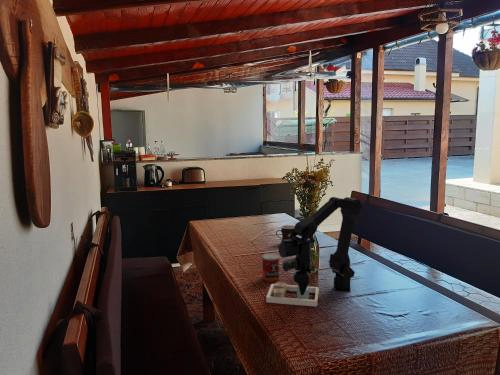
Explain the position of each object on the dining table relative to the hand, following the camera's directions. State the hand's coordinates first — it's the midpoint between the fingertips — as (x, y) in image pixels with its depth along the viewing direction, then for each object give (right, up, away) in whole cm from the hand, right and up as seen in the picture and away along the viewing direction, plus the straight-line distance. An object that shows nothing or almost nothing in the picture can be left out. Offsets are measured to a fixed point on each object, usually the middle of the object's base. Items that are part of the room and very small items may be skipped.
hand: (303, 290), depth 168 cm
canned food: (-12, 0, +21) cm, 24 cm away
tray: (-4, -3, +1) cm, 5 cm away
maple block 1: (-9, -3, +5) cm, 10 cm away
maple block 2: (-10, -4, -1) cm, 11 cm away
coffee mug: (0, +9, +77) cm, 78 cm away
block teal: (0, -3, +1) cm, 3 cm away
